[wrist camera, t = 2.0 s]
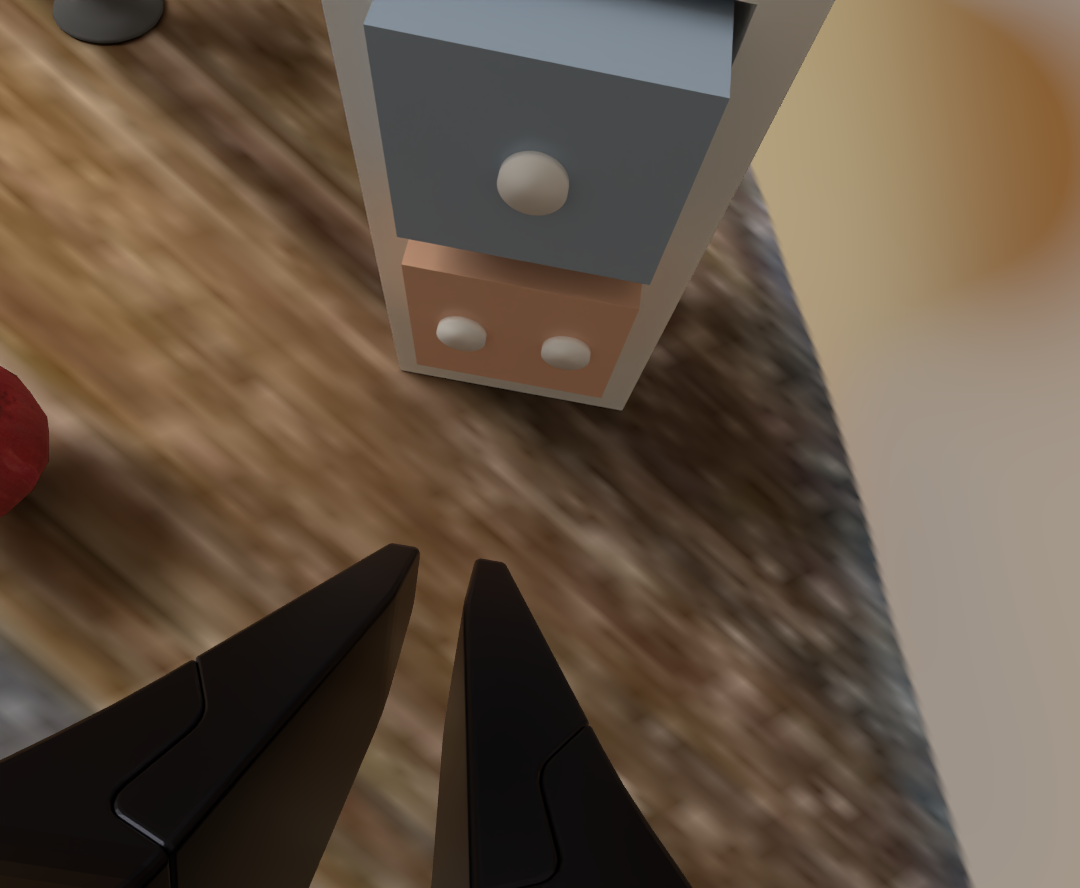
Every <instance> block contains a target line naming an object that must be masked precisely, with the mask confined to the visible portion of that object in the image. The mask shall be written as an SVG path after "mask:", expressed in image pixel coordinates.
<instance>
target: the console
mask: <svg viewBox="0 0 1080 888" xmlns="http://www.w3.org/2000/svg"><path fill="white" fill-rule="evenodd" d="M372 1H373V0H321V2H322V6H323V11H324V16H325V21H326V25H327V30H328V35H329V39H330V44H331V49H332V53H333V58H334V63H335V68H336V72H337V77H338V82H339V86H340V91H341V96H342V100H343V105H344V110H345V115H346V119H347V124H348V129H349V133H350V138H351V143H352V147H353V152H354V157H355V161H356V166H357V171H358V176H359V180H360V185H361V190H362V194H363V199H364V204H365V208H366V213H367V218H368V223H369V227H370V232H371V237H372V241H373V246H374V251H375V255H376V260H377V265H378V270H379V274H380V279H381V284H382V288H383V293H384V298H385V302H386V307H387V312H388V316H389V321H390V326H391V331H392V335H393V340H394V345H395V349H396V354H397V359H398V363H399V368H400V370H403V371H409V372H414V373H420V374H425V375H431V376H436V377H441V378H447V379H452V380H458V381H463V382H469V383H474V384H480V385H485V386H491V387H496V388H502V389H507V390H512V391H518V392H523V393H529V394H534V395H540V396H545V397H551V398H556V399H562V400H567V401H572V402H578V403H583V404H589V405H594V406H600V407H605V408H611V409H616V410H623V408H624V406H625V404H626V402H627V401H628V399H629V397H630V395H631V393H632V391H633V389H634V387H635V385H636V383H637V381H638V379H639V377H640V375H641V374H642V372H643V370H644V368H645V366H646V364H647V362H648V360H649V358H650V356H651V354H652V352H653V350H654V348H655V347H656V345H657V343H658V341H659V339H660V337H661V335H662V333H663V331H664V329H665V327H666V325H667V323H668V321H669V320H670V318H671V316H672V314H673V312H674V310H675V308H676V306H677V304H678V302H679V300H680V298H681V296H682V294H683V293H684V291H685V289H686V287H687V285H688V283H689V281H690V279H691V277H692V275H693V273H694V271H695V269H696V267H697V266H698V264H699V262H700V260H701V258H702V256H703V254H704V252H705V250H706V248H707V246H708V244H709V242H710V240H711V239H712V237H713V235H714V233H715V231H716V229H717V227H718V225H719V223H720V221H721V219H722V217H723V215H724V214H725V212H726V210H727V208H728V206H729V204H730V202H731V200H732V198H733V196H734V194H735V192H736V190H737V188H738V187H739V185H740V183H741V181H742V179H743V177H744V175H745V173H746V171H747V169H748V167H749V165H750V163H751V161H752V160H753V158H754V156H755V154H756V152H757V150H758V148H759V146H760V144H761V142H762V140H763V138H764V136H765V134H766V133H767V130H768V129H769V127H770V125H771V123H772V121H773V119H774V117H775V115H776V113H777V111H778V109H779V107H780V106H781V104H782V102H783V100H784V98H785V96H786V94H787V92H788V90H789V88H790V86H791V84H792V82H793V80H794V79H795V76H796V75H797V73H798V71H799V69H800V67H801V65H802V63H803V61H804V59H805V57H806V55H807V53H808V51H809V50H810V48H811V46H812V44H813V42H814V40H815V38H816V36H817V34H818V32H819V30H820V28H821V26H822V25H823V22H824V21H825V19H826V17H827V15H828V13H829V11H830V9H831V7H832V5H833V3H834V1H835V0H735V1H734V22H733V42H732V63H731V83H730V99H729V101H728V104H727V106H726V108H725V111H724V113H723V115H722V118H721V120H720V122H719V125H718V127H717V129H716V132H715V134H714V136H713V139H712V141H711V143H710V146H709V148H708V150H707V153H706V155H705V157H704V160H703V162H702V164H701V167H700V169H699V171H698V174H697V176H696V178H695V181H694V183H693V185H692V188H691V190H690V192H689V195H688V197H687V199H686V202H685V204H684V206H683V209H682V211H681V213H680V216H679V218H678V220H677V223H676V225H675V227H674V230H673V232H672V234H671V237H670V239H669V241H668V244H667V246H666V248H665V251H664V253H663V255H662V258H661V260H660V262H659V265H658V267H657V269H656V272H655V274H654V276H653V279H652V281H651V283H650V285H646V284H642V289H641V298H640V308H639V311H638V314H637V316H636V318H635V321H634V323H633V325H632V328H631V330H630V332H629V335H628V337H627V339H626V342H625V344H624V346H623V349H622V351H621V353H620V356H619V358H618V360H617V363H616V365H615V367H614V370H613V372H612V374H611V377H610V379H609V381H608V384H607V386H606V388H605V391H604V393H603V395H602V398H598V397H593V396H587V395H582V394H576V393H571V392H565V391H560V390H554V389H549V388H544V387H538V386H533V385H527V384H522V383H516V382H511V381H505V380H500V379H495V378H489V377H484V376H478V375H473V374H467V373H462V372H456V371H451V370H446V369H440V368H435V367H429V366H424V365H418V364H417V360H416V354H415V348H414V341H413V335H412V329H411V323H410V316H409V310H408V304H407V297H406V291H405V285H404V278H403V272H402V266H401V264H402V260H403V257H404V254H405V250H406V247H407V243H408V240H409V239H405V238H400V237H397V234H396V228H395V222H394V215H393V209H392V203H391V196H390V190H389V184H388V177H387V171H386V165H385V158H384V152H383V146H382V139H381V133H380V127H379V121H378V114H377V108H376V102H375V95H374V89H373V83H372V76H371V70H370V64H369V57H368V51H367V45H366V38H365V32H364V26H363V24H364V21H365V19H366V16H367V14H368V11H369V9H370V6H371V3H372Z"/></svg>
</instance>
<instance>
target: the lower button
mask: <svg viewBox="0 0 1080 888" xmlns="http://www.w3.org/2000/svg"><path fill="white" fill-rule="evenodd" d="M401 266H402V272H403V278H404V285H405V291H406V297H407V304H408V310H409V316H410V323H411V329H412V335H413V341H414V348H415V354H416V360H417V364H418V365H424V366H429V367H435V368H440V369H446V370H451V371H456V372H462V373H467V374H473V375H478V376H484V377H489V378H495V379H500V380H505V381H511V382H516V383H522V384H527V385H533V386H538V387H544V388H549V389H554V390H560V391H565V392H571V393H576V394H582V395H587V396H593V397H598V398H602V395H603V393H604V391H605V388H606V386H607V384H608V381H609V379H610V377H611V374H612V372H613V370H614V367H615V365H616V363H617V360H618V358H619V356H620V353H621V351H622V349H623V346H624V344H625V342H626V339H627V337H628V335H629V332H630V330H631V328H632V325H633V323H634V321H635V318H636V316H637V314H638V311H639V308H640V298H641V289H642V284H641V283H636V282H631V281H625V280H620V279H615V278H610V277H604V276H599V275H594V274H589V273H583V272H578V271H573V270H568V269H562V268H557V267H552V266H547V265H541V264H536V263H531V262H526V261H520V260H515V259H510V258H505V257H499V256H494V255H489V254H484V253H478V252H473V251H468V250H463V249H457V248H452V247H447V246H442V245H436V244H431V243H426V242H421V241H416V240H410V239H409V240H408V243H407V247H406V250H405V254H404V257H403V260H402V264H401Z"/></svg>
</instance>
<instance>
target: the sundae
mask: <svg viewBox="0 0 1080 888" xmlns="http://www.w3.org/2000/svg"><path fill="white" fill-rule="evenodd" d="M163 6H164V4H163V0H55V2H54V6H53V17H54V19H55V21H56V23H57V25H58V26H59V27H60V28H61V30H63V31H64V32H66V33H67V34H69V35H71V36H73V37H75V38H77V39H79V40H83V41H87V42H92V43H98V44H103V43H120V42H124V41H127V40H131V39H134V38H136V37H139V36H141V35H143V34H144V33H146V32H148V31H149V30H150V29H151V28H153V27H154V26H155V25H156V23H157V22H158V21H159V19H160V17H161V15H162V13H163Z"/></svg>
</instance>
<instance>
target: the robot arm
mask: <svg viewBox="0 0 1080 888" xmlns="http://www.w3.org/2000/svg"><path fill="white" fill-rule="evenodd" d="M419 558H420V552H419V550H418V549H417V548H416V547H411V546H406V545H400V544H394V543H392V544H388V545H386V546H385V547H383V548H381V549H380V550H378V551H376V552H375V553H373V554H371V555H369V556H368V557H366V558H364V559H363V560H361V561H359V562H357V563H356V564H354V565H352V566H351V567H349V568H347V569H346V570H344V571H342V572H340V573H339V574H337V575H335V576H334V577H332V578H330V579H329V580H327V581H325V582H323V583H322V584H320V585H318V586H317V587H315V588H313V589H312V590H310V591H308V592H306V593H305V594H303V595H301V596H300V597H298V598H296V599H294V600H293V601H291V602H289V603H288V604H286V605H284V606H283V607H281V608H279V609H277V610H276V611H274V612H272V613H271V614H269V615H267V616H266V617H264V618H262V619H260V620H259V621H257V622H255V623H254V624H252V625H250V626H249V627H247V628H245V629H243V630H242V631H240V632H238V633H237V634H235V635H233V636H232V637H230V638H228V639H226V640H225V641H223V642H221V643H220V644H218V645H216V646H214V647H213V648H211V649H209V650H208V651H206V652H204V653H203V654H201V655H199V656H198V657H197V658H196V662H195V661H194V660H191V661H189V662H187V663H185V664H183V665H182V666H180V667H178V668H177V669H175V670H173V671H171V672H170V673H168V674H166V675H165V676H163V677H161V678H159V679H158V680H156V681H154V682H152V683H150V684H149V685H147V686H145V687H143V688H141V689H140V690H138V691H136V692H134V693H132V694H131V695H129V696H127V697H125V698H124V699H122V700H120V701H118V702H116V703H115V704H113V705H111V706H109V707H107V708H105V709H103V710H101V711H99V712H97V713H95V714H93V715H91V716H89V717H87V718H85V719H83V720H81V721H79V722H77V723H75V724H73V725H71V726H69V727H67V728H65V729H63V730H61V731H59V732H57V733H55V734H53V735H51V736H49V737H47V738H45V739H43V740H41V741H39V742H37V743H35V744H33V745H31V746H29V747H27V748H25V749H22V750H20V751H18V752H16V753H14V754H12V755H10V756H8V757H6V758H4V759H2V760H0V888H309V886H310V884H311V881H312V879H313V877H314V874H315V872H316V870H317V867H318V865H319V862H320V860H321V858H322V855H323V853H324V851H325V848H326V846H327V844H328V841H329V839H330V836H331V834H332V832H333V829H334V827H335V825H336V822H337V820H338V818H339V815H340V813H341V811H342V808H343V806H344V803H345V801H346V799H347V796H348V794H349V792H350V789H351V787H352V785H353V782H354V780H355V777H356V775H357V773H358V770H359V768H360V766H361V763H362V761H363V759H364V756H365V754H366V751H367V749H368V747H369V744H370V742H371V740H372V737H373V735H374V733H375V730H376V728H377V725H378V723H379V720H380V717H381V715H382V712H383V710H384V706H385V703H386V700H387V697H388V694H389V690H390V687H391V683H392V680H393V676H394V673H395V669H396V666H397V662H398V659H399V655H400V652H401V648H402V645H403V641H404V638H405V634H406V631H407V627H408V623H409V620H410V616H411V613H412V609H413V604H414V598H415V590H416V582H417V574H418V566H419ZM431 888H693V887H692V886H691V885H690V883H689V882H688V880H687V879H686V877H685V876H684V874H683V873H682V872H681V870H680V869H679V867H678V866H677V864H676V863H675V861H674V860H673V858H672V857H671V856H670V854H669V853H668V851H667V850H666V848H665V847H664V845H663V844H662V843H661V841H660V840H659V838H658V837H657V835H656V834H655V832H654V831H653V830H652V828H651V826H650V825H649V823H648V822H647V820H646V819H645V817H644V816H643V814H642V813H641V811H640V810H639V808H638V807H637V805H636V804H635V802H634V800H633V799H632V797H631V796H630V794H629V793H628V791H627V790H626V788H625V787H624V785H623V783H622V781H621V780H620V778H619V776H618V774H617V773H616V771H615V769H614V767H613V766H612V764H611V762H610V760H609V759H608V757H607V755H606V753H605V752H604V750H603V748H602V746H601V744H600V742H599V740H598V738H597V736H596V735H595V733H594V731H593V729H592V727H591V726H589V722H588V720H587V718H586V716H585V714H584V712H583V710H582V708H581V707H580V705H579V703H578V701H577V699H576V697H575V695H574V693H573V691H572V689H571V688H570V686H569V684H568V682H567V680H566V678H565V676H564V674H563V672H562V671H561V669H560V667H559V665H558V663H557V661H556V659H555V657H554V655H553V653H552V652H551V650H550V648H549V646H548V644H547V642H546V640H545V638H544V636H543V635H542V633H541V631H540V629H539V627H538V625H537V623H536V621H535V619H534V617H533V616H532V614H531V612H530V610H529V608H528V606H527V604H526V602H525V600H524V598H523V597H522V595H521V593H520V591H519V589H518V587H517V585H516V583H515V581H514V580H513V578H512V576H511V574H510V572H509V570H508V568H507V566H506V565H505V564H504V563H503V562H498V561H492V560H486V559H477V560H476V561H475V563H474V567H473V571H472V574H471V578H470V582H469V586H468V589H467V593H466V597H465V601H464V606H463V612H462V618H461V624H460V631H459V637H458V643H457V649H456V655H455V661H454V667H453V674H452V680H451V686H450V692H449V698H448V704H447V710H446V717H445V724H444V733H443V744H442V756H441V769H440V782H439V795H438V808H437V821H436V833H435V846H434V859H433V872H432V885H431Z"/></svg>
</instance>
